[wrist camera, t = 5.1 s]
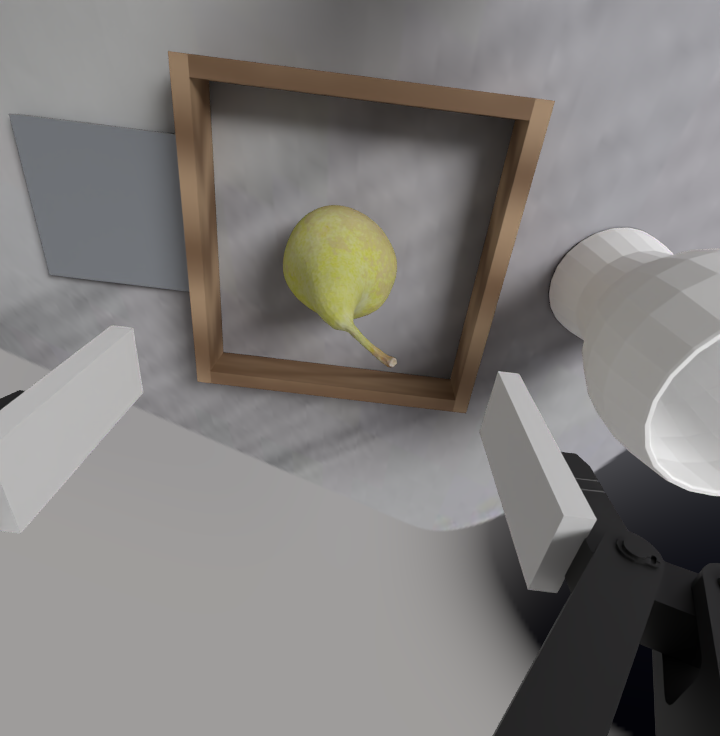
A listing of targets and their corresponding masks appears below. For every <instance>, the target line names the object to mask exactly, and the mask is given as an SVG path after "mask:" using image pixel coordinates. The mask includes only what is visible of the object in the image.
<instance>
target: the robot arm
mask: <svg viewBox="0 0 720 736" xmlns="http://www.w3.org/2000/svg"><path fill="white" fill-rule="evenodd" d="M142 394H143V387H142V381H141V375H140V369H139V362H138V356H137V350H136V344H135V337H134V331H133V328H130V327H122V326H113V325H111V326H110V327H109V328H107V329H106V330H105V331H103V332H102V333H101V334H99V335H98V336H97V337H95V338H94V339H93V340H92V341H90V342H89V343H88V344H86V345H85V346H84V347H82V348H81V349H80V350H78V351H77V352H76V353H74V354H73V355H72V356H71V357H69V358H68V359H67V360H65V361H64V362H63V363H61V364H60V365H59V366H57V367H56V368H55V369H54V370H52V371H51V372H50V373H49V374H47V375H46V376H44V377H43V378H42V379H41V380H39V381H38V382H37V383H35V384H34V385H33V386H32V387H30V388H29V389H28V390H26V391H21V390H19V391H17V392H15V393H12V394H10V395H8V396H5V397H3V398H1V399H0V531H5V532H15V533H21V532H22V531H23V530H24V529H25V528H26V527H27V526H28V524H29V523H30V522H31V521H32V520H33V519H34V518H35V516H36V515H37V514H38V513H39V512H40V511H41V510H42V508H43V507H44V506H45V505H46V504H47V502H48V501H49V500H50V499H51V498H52V497H53V496H54V495H55V493H56V492H57V491H58V490H59V489H60V488H61V487H62V485H63V484H64V483H65V482H66V481H67V480H68V478H69V477H70V476H71V475H72V474H73V473H74V472H75V470H76V469H77V468H78V467H79V466H80V465H81V464H82V462H83V461H84V460H85V459H86V458H87V457H88V456H89V454H90V453H91V452H92V451H93V450H94V449H95V448H96V446H97V445H98V444H99V443H100V442H101V441H102V439H103V438H104V437H105V436H106V435H107V434H108V433H109V431H110V430H111V429H112V428H113V427H114V425H116V423H117V422H118V421H119V420H120V419H121V418H122V417H123V415H124V414H125V413H126V412H127V411H128V410H129V409H130V407H131V406H132V405H133V404H134V403H135V402H136V400H137V399H138V398H139V397H140V396H141V395H142ZM480 435H481V438H482V442H483V445H484V448H485V451H486V455H487V458H488V461H489V464H490V468H491V471H492V474H493V477H494V481H495V484H496V487H497V490H498V494H499V497H500V500H501V503H502V507H503V510H504V513H505V516H506V520H507V523H508V526H509V529H510V533H511V536H512V539H513V542H514V545H515V548H516V552H517V555H518V558H519V562H520V565H521V568H522V571H523V575H524V578H525V581H526V584H527V588H528V590H536V591H545V592H554V593H557V592H558V590H559V588H560V586H561V585H562V583H563V581H564V579H566V581H567V584H568V587H569V589H570V592H571V594H570V596H569V598H568V600H567V601H566V603H565V605H564V607H563V608H562V610H561V612H560V614H559V616H558V617H557V620H556V621H555V623H554V625H553V627H552V629H551V631H550V632H549V634H548V636H547V638H546V640H545V642H544V644H543V645H542V647H541V649H540V651H539V652H538V654H537V656H536V658H535V660H534V661H533V663H532V665H531V667H530V669H529V671H528V672H527V674H526V676H525V678H524V680H523V681H522V683H521V685H520V687H519V689H518V691H517V692H516V694H515V696H514V698H513V700H512V701H511V703H510V705H509V707H508V709H507V711H506V713H505V714H504V716H503V718H502V720H501V721H500V723H499V725H498V727H497V729H496V731H495V732H494V734H493V736H607V735H608V732H609V730H610V727H611V724H612V721H613V718H614V715H615V712H616V709H617V707H618V704H619V701H620V698H621V695H622V692H623V689H624V686H625V683H626V681H627V678H628V675H629V672H630V669H631V666H632V663H633V660H634V657H635V655H636V652H637V649H638V646H639V644H641V645H644V646H646V647H649V648H651V649H652V654H653V679H654V703H655V729H656V736H720V563H710V564H708V565H707V566H705V567H704V568H703V569H702V570H701V572H700V573H699V574H697V573H695V572H692V571H689V570H686V569H684V568H681V567H678V566H675V565H672V564H670V563H667V562H665V561H663V559H662V557H661V555H660V553H659V552H658V551H657V550H656V549H655V548H654V547H653V546H652V544H650V543H649V542H647V541H646V540H645V539H643V538H642V537H640V536H638V535H636V534H634V533H632V532H629V531H628V530H627V528H626V527H625V525H624V523H623V522H622V520H621V518H620V516H619V515H618V513H617V512H616V510H615V508H614V507H613V505H612V503H611V501H610V500H609V498H608V496H607V495H606V493H604V490H603V488H602V486H601V484H600V483H599V482H597V478H596V476H595V474H594V473H593V471H592V469H591V468H590V466H589V465H588V464H587V463H586V462H584V461H583V460H582V459H581V458H580V457H579V456H578V455H577V454H574V453H565V452H561V451H560V449H559V448H558V446H557V444H556V442H555V440H554V438H553V436H552V434H551V433H550V431H549V429H548V427H547V425H546V423H545V421H544V419H543V418H542V416H541V414H540V412H539V410H538V408H537V406H536V404H535V403H534V401H533V399H532V397H531V395H530V393H529V391H528V389H527V388H526V386H525V384H524V382H523V380H522V378H521V376H520V374H518V373H509V372H501V371H498V373H497V376H496V380H495V383H494V386H493V389H492V393H491V396H490V399H489V402H488V406H487V409H486V412H485V415H484V419H483V422H482V425H481V428H480Z"/></svg>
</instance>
